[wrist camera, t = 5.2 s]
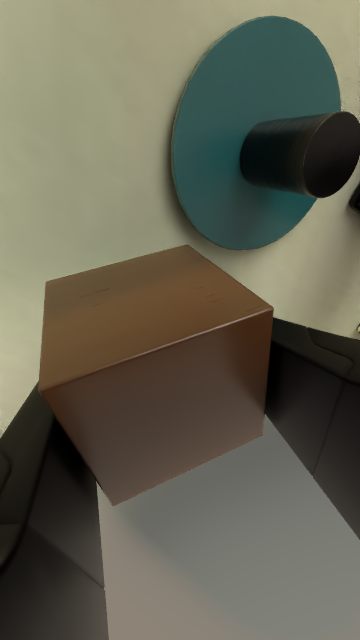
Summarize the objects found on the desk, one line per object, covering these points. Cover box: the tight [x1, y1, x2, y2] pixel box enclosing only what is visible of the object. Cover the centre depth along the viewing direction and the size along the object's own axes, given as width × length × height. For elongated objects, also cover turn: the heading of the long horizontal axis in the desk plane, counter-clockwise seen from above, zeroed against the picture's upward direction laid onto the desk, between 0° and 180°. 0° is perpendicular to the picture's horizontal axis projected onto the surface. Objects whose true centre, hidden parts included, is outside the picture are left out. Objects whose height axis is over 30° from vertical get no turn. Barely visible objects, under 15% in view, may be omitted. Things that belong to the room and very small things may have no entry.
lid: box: [171, 16, 360, 250], centre depth 16 cm, size 12×12×7 cm
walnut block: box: [38, 245, 274, 506], centre depth 8 cm, size 5×5×5 cm
